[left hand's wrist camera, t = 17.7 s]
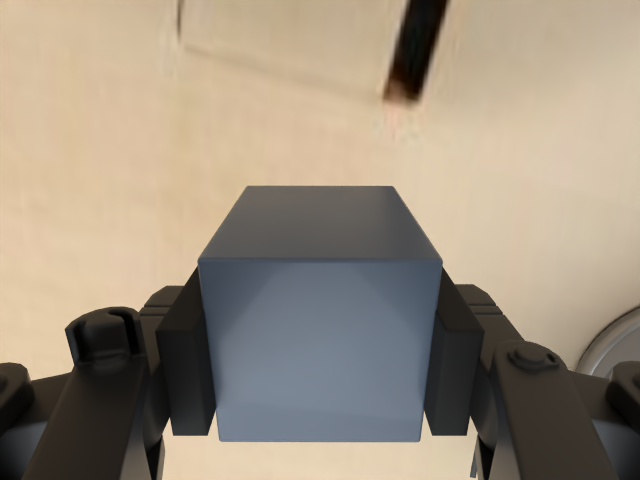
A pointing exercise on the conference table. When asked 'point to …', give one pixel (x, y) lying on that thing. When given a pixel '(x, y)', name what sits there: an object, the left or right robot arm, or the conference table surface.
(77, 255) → the conference table surface
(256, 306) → the slate block
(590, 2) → the conference table surface
